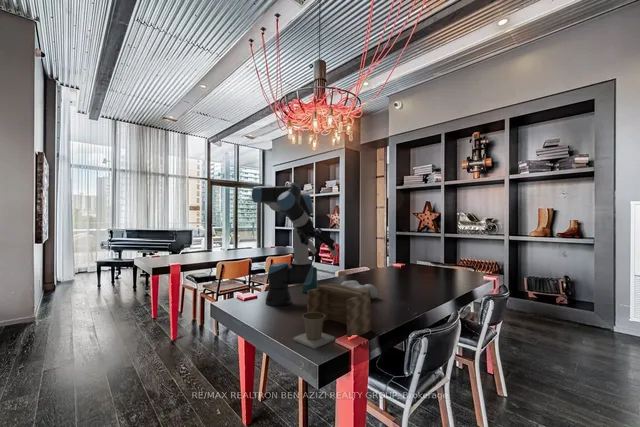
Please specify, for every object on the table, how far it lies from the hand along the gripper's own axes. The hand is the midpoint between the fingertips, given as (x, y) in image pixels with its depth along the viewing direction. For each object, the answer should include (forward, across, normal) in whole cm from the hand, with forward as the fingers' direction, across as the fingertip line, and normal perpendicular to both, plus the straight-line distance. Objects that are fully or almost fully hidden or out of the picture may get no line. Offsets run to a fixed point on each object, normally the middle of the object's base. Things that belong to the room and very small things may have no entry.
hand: (325, 253), depth 138 cm
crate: (+21, +10, -25) cm, 34 cm away
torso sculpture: (+59, -19, +12) cm, 63 cm away
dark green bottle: (+49, -50, +3) cm, 70 cm away
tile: (+10, +11, -37) cm, 40 cm away
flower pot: (+9, +11, -36) cm, 39 cm away
